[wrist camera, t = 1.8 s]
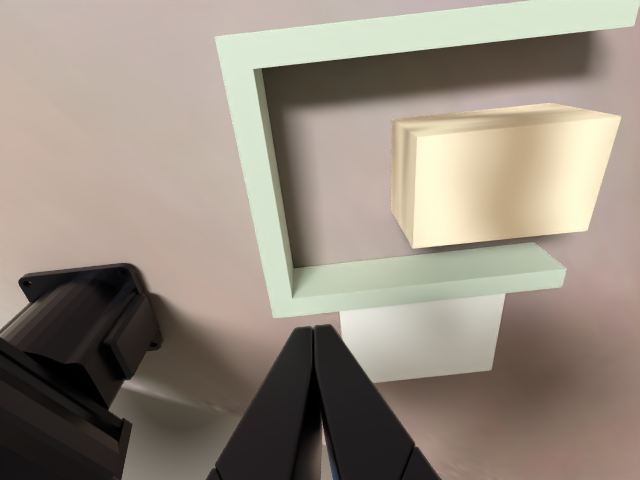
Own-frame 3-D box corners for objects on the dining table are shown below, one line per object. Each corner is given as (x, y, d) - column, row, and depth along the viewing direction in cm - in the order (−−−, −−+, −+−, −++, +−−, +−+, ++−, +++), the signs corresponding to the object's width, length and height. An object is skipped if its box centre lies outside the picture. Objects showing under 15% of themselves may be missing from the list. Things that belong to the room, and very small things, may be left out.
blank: (390, 210, 20) (412, 248, 16) (390, 118, 18) (417, 137, 14) (529, 195, 20) (587, 230, 16) (548, 102, 18) (621, 116, 14)
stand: (344, 368, 25) (346, 385, 24) (337, 290, 22) (339, 305, 21) (481, 353, 25) (491, 370, 24) (494, 273, 22) (506, 287, 21)
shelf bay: (276, 286, 22) (273, 318, 19) (229, 39, 15) (214, 36, 13) (529, 258, 22) (561, 287, 19) (585, -1, 15) (644, -13, 13)
